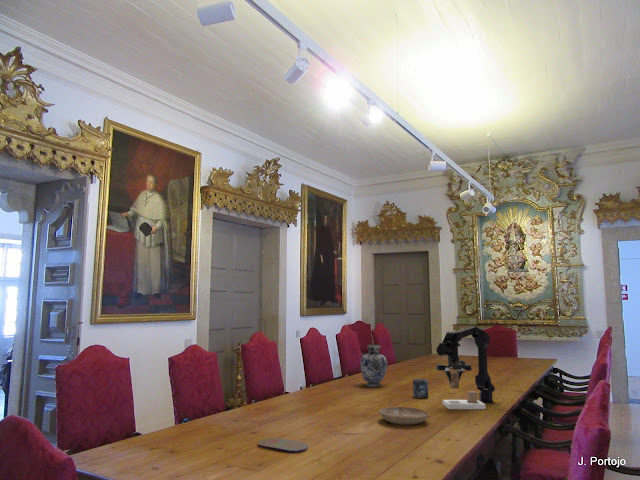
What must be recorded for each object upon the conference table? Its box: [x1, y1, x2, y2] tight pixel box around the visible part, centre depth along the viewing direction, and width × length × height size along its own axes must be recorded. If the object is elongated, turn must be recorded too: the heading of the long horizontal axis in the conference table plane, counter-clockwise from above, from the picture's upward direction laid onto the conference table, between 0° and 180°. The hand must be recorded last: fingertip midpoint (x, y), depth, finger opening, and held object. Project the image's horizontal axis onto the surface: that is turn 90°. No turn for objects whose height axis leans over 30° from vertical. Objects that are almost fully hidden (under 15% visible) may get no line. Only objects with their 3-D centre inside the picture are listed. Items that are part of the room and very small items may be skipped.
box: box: [412, 378, 429, 399], centre depth 286 cm, size 8×6×11 cm
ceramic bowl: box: [379, 406, 429, 426], centre depth 227 cm, size 23×24×5 cm
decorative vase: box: [359, 343, 388, 388], centre depth 328 cm, size 21×19×28 cm
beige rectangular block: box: [449, 372, 460, 389], centre depth 262 cm, size 4×4×8 cm
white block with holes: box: [442, 390, 487, 410], centre depth 261 cm, size 20×12×8 cm, turn 91°
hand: (454, 383), depth 262 cm, fingers closed on beige rectangular block, 4 cm apart
